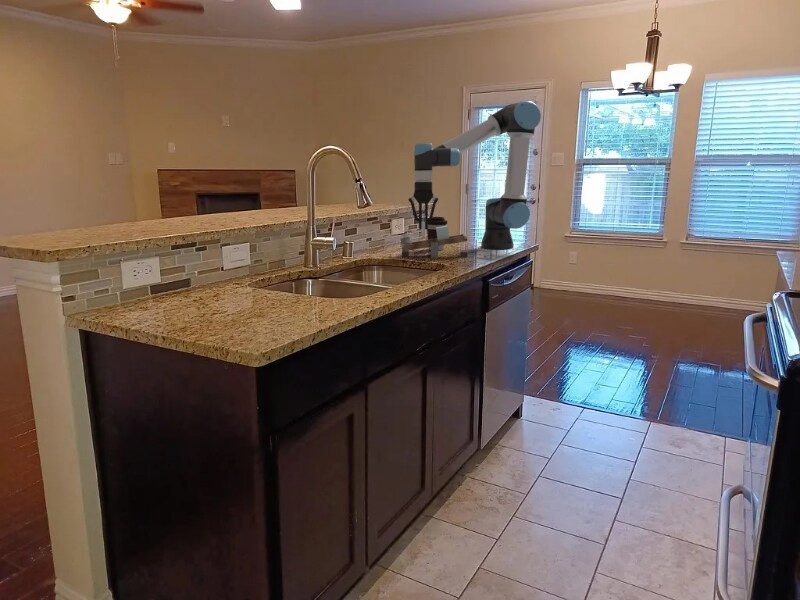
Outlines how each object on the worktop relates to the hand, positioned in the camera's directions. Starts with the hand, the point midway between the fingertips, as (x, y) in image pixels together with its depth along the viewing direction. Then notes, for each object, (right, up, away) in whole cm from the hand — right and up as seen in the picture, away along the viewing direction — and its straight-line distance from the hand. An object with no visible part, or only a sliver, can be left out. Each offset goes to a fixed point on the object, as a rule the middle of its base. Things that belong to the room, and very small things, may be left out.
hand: (423, 236), depth 242 cm
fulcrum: (+5, -8, +2) cm, 10 cm away
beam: (+5, -3, 0) cm, 6 cm away
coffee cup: (+7, -4, +21) cm, 23 cm away
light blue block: (+9, -2, 0) cm, 9 cm away
